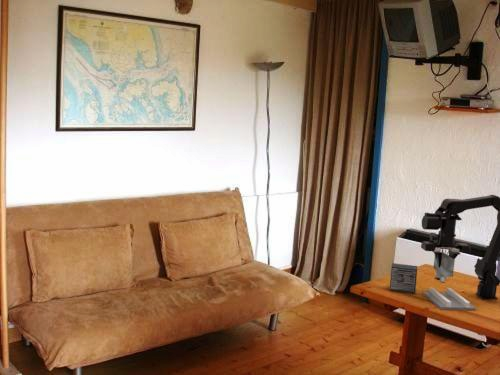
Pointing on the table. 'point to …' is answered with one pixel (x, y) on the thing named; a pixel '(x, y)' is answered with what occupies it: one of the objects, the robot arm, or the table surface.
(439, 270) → the long grey rectangular beam
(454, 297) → the sliding track
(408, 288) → the small box
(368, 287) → the table surface
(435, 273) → the reed diffuser
